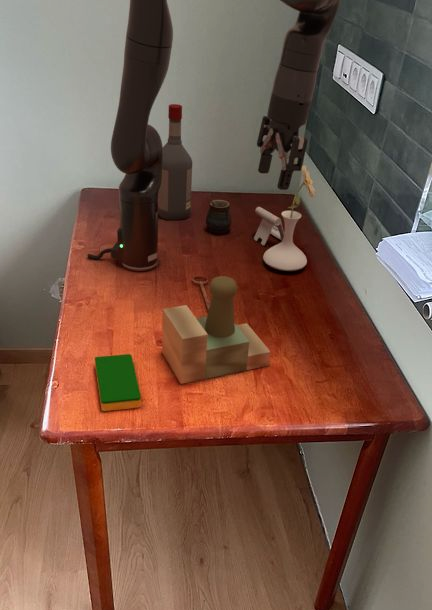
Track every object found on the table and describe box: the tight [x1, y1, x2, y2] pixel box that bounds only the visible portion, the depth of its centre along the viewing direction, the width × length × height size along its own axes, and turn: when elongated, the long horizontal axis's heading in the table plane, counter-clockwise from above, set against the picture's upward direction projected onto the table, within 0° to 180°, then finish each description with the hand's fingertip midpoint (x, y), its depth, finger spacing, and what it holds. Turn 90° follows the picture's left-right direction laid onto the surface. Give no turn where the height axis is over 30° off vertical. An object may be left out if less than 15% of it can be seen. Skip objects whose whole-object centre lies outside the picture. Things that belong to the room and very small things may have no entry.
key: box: [191, 276, 211, 311], centre depth 146 cm, size 6×1×15 cm
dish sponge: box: [94, 353, 142, 412], centre depth 116 cm, size 7×14×2 cm, turn 13°
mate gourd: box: [205, 199, 233, 235], centre depth 171 cm, size 7×8×10 cm
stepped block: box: [161, 304, 271, 385], centre depth 122 cm, size 19×11×10 cm, turn 113°
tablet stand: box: [253, 206, 285, 246], centre depth 169 cm, size 9×8×8 cm
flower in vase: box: [262, 165, 316, 272], centre depth 153 cm, size 13×11×25 cm
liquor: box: [158, 103, 193, 221], centre depth 172 cm, size 9×9×30 cm
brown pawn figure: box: [205, 275, 238, 338], centre depth 118 cm, size 6×6×11 cm
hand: (272, 180), depth 122 cm, fingers open, 8 cm apart
